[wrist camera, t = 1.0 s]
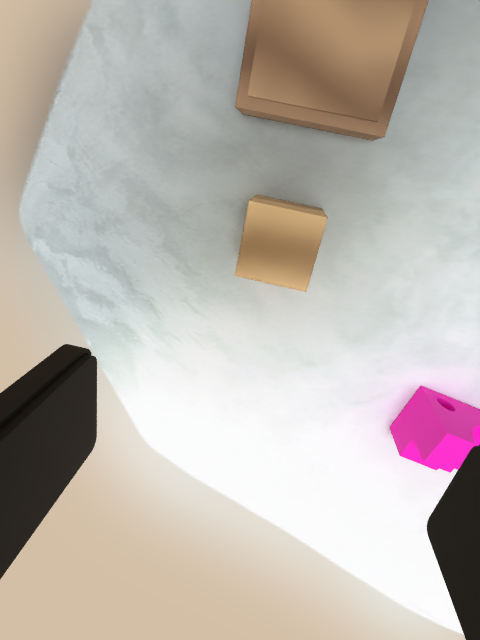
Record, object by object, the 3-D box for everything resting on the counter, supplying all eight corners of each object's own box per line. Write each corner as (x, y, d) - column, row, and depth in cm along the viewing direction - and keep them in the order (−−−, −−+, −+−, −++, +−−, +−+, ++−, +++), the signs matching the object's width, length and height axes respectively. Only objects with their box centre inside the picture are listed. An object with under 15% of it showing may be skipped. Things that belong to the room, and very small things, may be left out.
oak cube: (257, 194, 32) (249, 200, 26) (322, 208, 31) (327, 217, 26) (244, 258, 34) (234, 275, 29) (304, 271, 34) (306, 291, 29)
